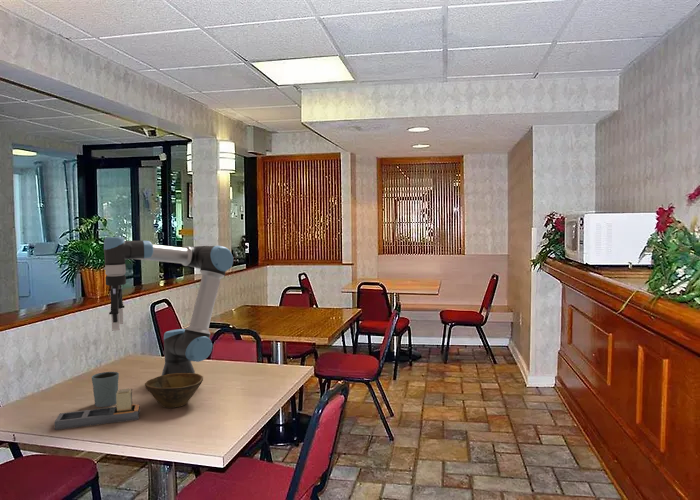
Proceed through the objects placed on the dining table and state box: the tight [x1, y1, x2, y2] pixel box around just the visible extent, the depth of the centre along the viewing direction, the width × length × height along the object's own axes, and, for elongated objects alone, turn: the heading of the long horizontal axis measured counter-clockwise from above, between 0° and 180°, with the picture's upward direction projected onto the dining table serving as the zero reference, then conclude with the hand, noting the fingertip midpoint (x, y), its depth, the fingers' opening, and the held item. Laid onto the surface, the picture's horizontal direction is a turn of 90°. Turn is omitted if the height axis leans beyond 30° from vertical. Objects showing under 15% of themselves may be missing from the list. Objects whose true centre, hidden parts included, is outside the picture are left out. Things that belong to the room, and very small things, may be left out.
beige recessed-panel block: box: [116, 388, 133, 413], centre depth 202 cm, size 5×5×10 cm
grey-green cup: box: [91, 371, 120, 408], centre depth 218 cm, size 10×10×12 cm
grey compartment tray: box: [54, 403, 141, 431], centre depth 199 cm, size 28×9×3 cm, turn 108°
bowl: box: [144, 372, 204, 409], centre depth 216 cm, size 22×23×10 cm
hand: (118, 327), depth 216 cm, fingers open, 13 cm apart
